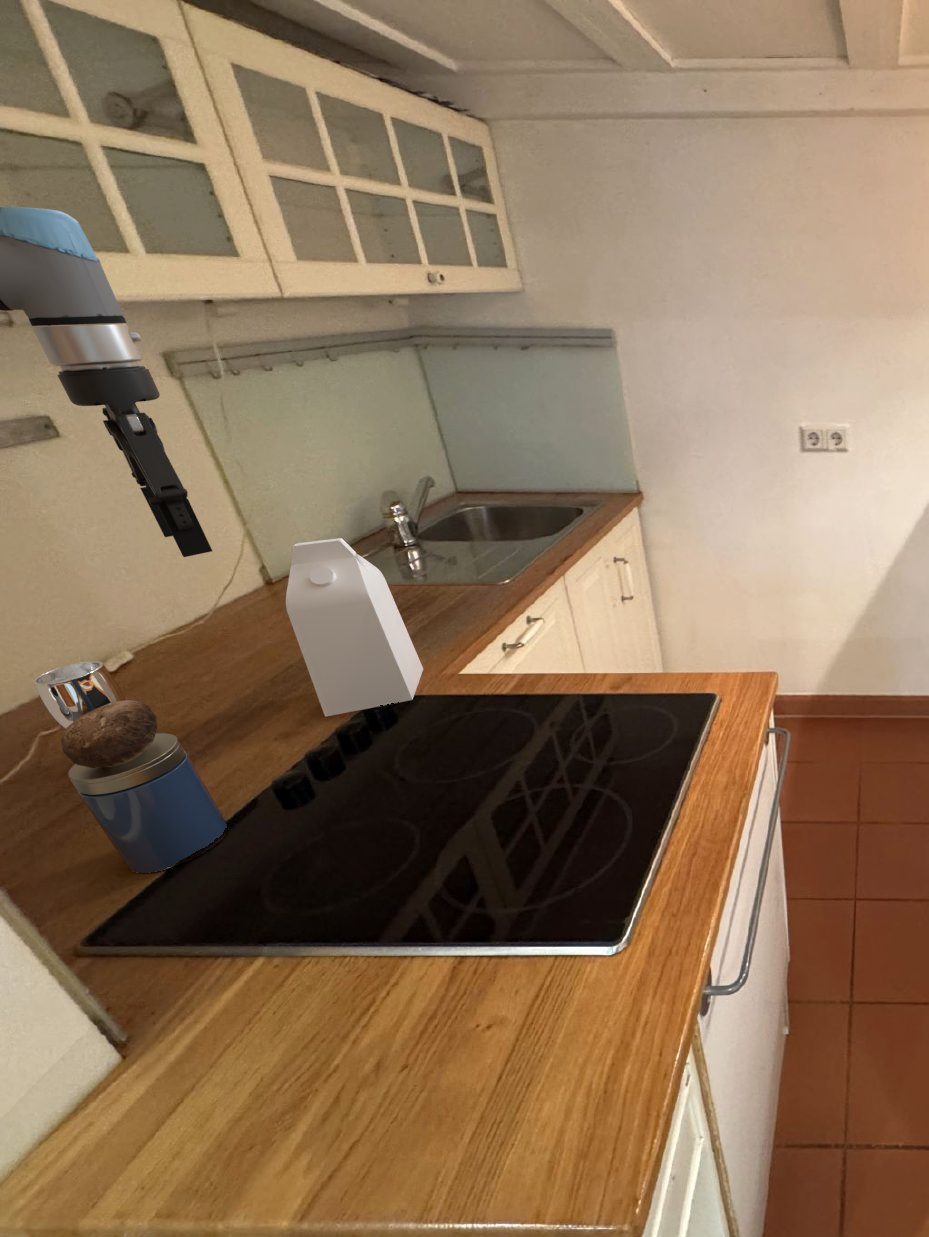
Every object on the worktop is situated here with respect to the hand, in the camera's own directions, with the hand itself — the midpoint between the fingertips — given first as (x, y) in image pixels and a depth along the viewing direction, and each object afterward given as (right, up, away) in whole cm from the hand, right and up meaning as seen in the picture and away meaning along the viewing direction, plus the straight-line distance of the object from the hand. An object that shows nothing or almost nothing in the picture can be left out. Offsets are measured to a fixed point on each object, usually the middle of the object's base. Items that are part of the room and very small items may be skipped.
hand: (187, 543), depth 89 cm
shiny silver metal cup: (-19, -30, +10) cm, 37 cm away
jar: (+5, -37, -6) cm, 38 cm away
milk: (+5, -21, +27) cm, 34 cm away
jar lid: (+4, -26, -12) cm, 28 cm away
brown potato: (+4, -25, -12) cm, 28 cm away
